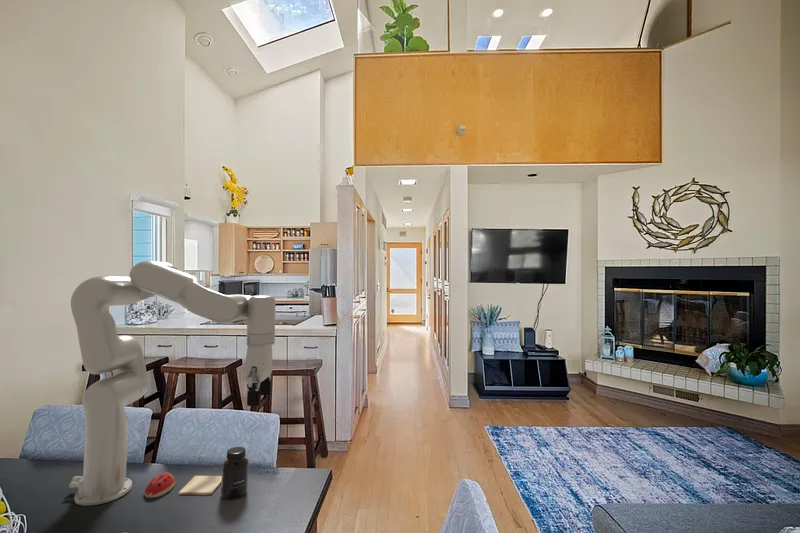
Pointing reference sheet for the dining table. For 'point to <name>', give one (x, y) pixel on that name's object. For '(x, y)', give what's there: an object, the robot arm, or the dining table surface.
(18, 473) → the dining table surface
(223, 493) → the supplement bottle
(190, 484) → the cork coaster
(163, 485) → the ladybug figurine
